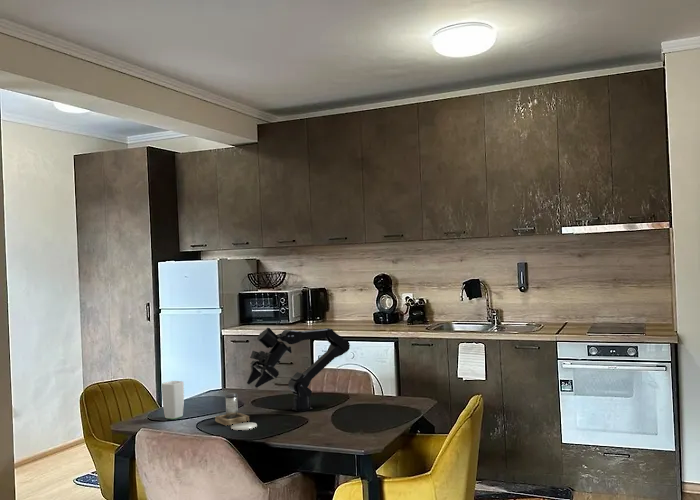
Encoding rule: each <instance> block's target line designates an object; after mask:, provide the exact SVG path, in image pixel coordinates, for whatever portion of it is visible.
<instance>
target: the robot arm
mask: <svg viewBox="0 0 700 500" xmlns="http://www.w3.org/2000/svg"><path fill="white" fill-rule="evenodd" d="M256 339H257V341H258V342H260V343H261V345H263V346H264V347H265V348H266V349H269V350H268V352H267V351H263V350H259V351H255V350H252V352H251V354H250V359H253V360H252V361H251V362H250V370H251V372H250V375H249V377H248V379H247V382H246V384H247V385H250V384H252V383H253V382H254V381H256V380H257V381H256V383H255V384H254V387H255V388H260V387H261V386H263V385H264V384H266V383H268V382H270V381H272V380H275V379H277V378H278V377H279V375H280V371H279V370H278V369H276V366H277V364H278V365H279V364H280V363H281V361H280V360H281V359H282V358H283V356H284V355H285V354H286V353H289V354H292V352H293V351H292V346H290V345H295V344H298V343H300V342H303V341H308V340H317V339H326V341H327V342H328V343H329V346H328V348H327V350H326V351H325V352H324V353H323V354H322V355H321V356H320V357H318V359H317V360H315V361H314V362H313V363H312V364H311V365H310V366H309V367H308V368H307V369H305V370H304V372H299V371H296V373H294V375H293V376H291V377H290V379H289V381H288V385H287V386H288V389H289V390H290V391H291V392H292V395H293V401H292V402H293V404H292V405H293V407H292V409H291V410H293V411H296V412H300V413H302V412H306V411H310V410H313V407H311V396H312V392H313V391H312V390H311V388H309V386H310V385H311V382H312V380H313V379H314V378H315V377H316V376H318V375H319V373H320V372H321V371H323V370H324V369H325V368H326V367H327V366H328V365H329V364H330V363H331V362H332V361H334V360H335V359H337V358H338V357H341V356H343V355H345V354H346V353H347V352H348V351H349V350H350V346H351V345H350V342H349V341H348V340H347V339H344V338H343V337H342V336H341V335H339V334H338V333H337V332H336V331H334V330H333V329H332V328H328V327H325V328H320V329H311V330H310V329H309V330H294V329H292V330H291V329H285V330H282V331H281V333H277V334H276V333H275V332H274V331H273V330H272V328H270V327H266V328H265V329H264V330H263V331H261V332H260V333H259V334H258V336H257V338H256ZM287 344H288V345H289V346H288V345H287Z"/></svg>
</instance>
